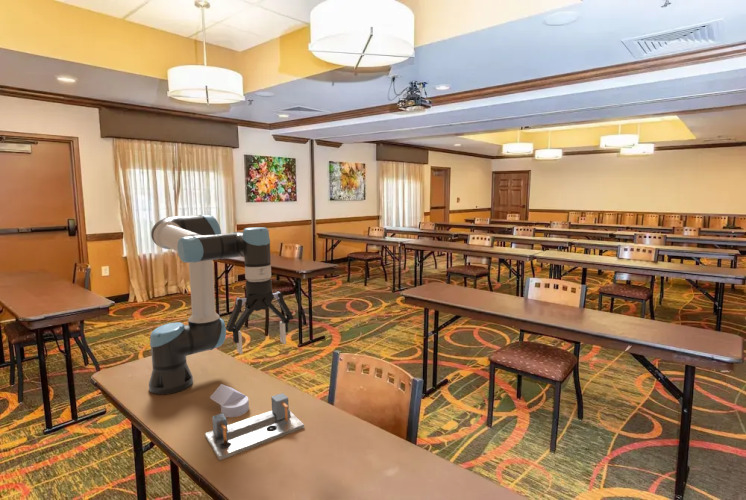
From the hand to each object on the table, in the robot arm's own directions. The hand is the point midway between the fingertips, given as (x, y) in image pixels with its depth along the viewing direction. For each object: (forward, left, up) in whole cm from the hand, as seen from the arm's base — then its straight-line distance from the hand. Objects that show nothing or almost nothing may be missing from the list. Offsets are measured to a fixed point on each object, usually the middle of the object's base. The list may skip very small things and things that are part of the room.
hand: (262, 347), depth 126 cm
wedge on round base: (-18, -5, -27) cm, 33 cm away
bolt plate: (+1, -4, -26) cm, 27 cm away
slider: (+1, +5, -25) cm, 25 cm away
